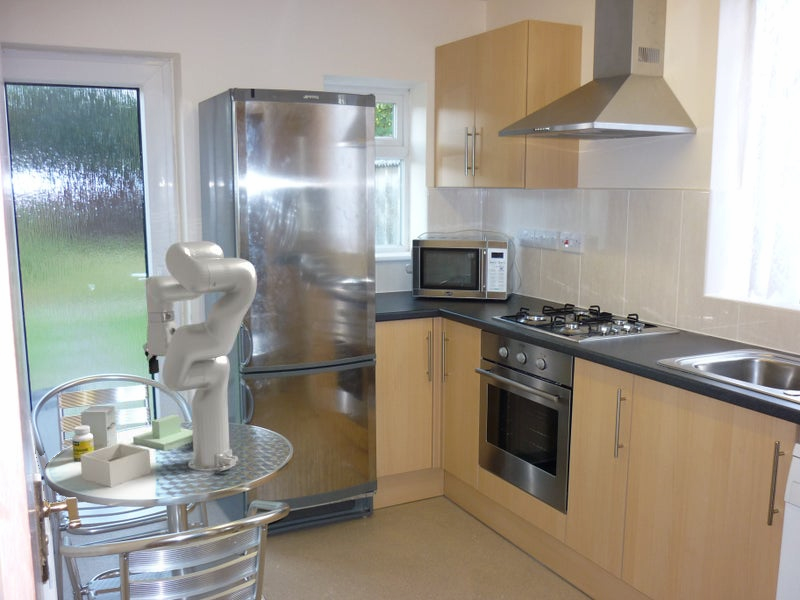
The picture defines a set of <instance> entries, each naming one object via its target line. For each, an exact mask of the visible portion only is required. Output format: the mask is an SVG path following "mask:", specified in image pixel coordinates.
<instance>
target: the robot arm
mask: <svg viewBox="0 0 800 600" xmlns="http://www.w3.org/2000/svg"><path fill="white" fill-rule="evenodd" d="M164 261H165V266H166V268H167V270H168V273H169V274H170V275H153V276H151V275H150V276H148V277H147V278H146V279H145V295H146V308H147V309H146V310H147V328H146V330H147V331H146V343H144V344H143V345H142V349H143V351H144V355H145V357H146V361H147V362H148V373H149V374H150V375H154V374H158V373H159V372H160V367H159V366H160V364H159V362H160V361H159V359H158V357H165V358H164V361H163V365H162V372H161V373H162V374H161V375H162V381H163V385H164V386H165V388H166V389H168V390H169V391H171V392H184V391H189V390H196V391H195V392H194V394H193V397H192V399H191V428H192V429H191V430H193V442H192V446H193V447H192V448H193V458H192V459H190V461H188V465H187V466H188V468H189V469H191V470H194V471H199V472H200V471H203V472H212V471H215V473H219V472H223V471H227V470H229V469H232V468H234V466H235V465H236V464H237V462H238V461H239V457H238V456H237V455H233V449H232V448H231V447H230V430H229V428H230V427H229V406H228V405H229V404H228V403H229V402H228V401H229V400H228V390H229V389H228V388H229V387H228V386H229V379H230V373H231V372H230V371H231V364H230V360H229V357H228V356H227V355H228V354H230V352H231V351H232V350H233V347H234V344H235V342H236V340H237V337H238V333H239V331H240V328H241V325H242V323H243V320H244V318H245V316H246V314H247V312H248V311H249V309H250V307H252V306H251V305H252V304H253V301H254V299H255V296H256V293H257V286H258V275H257V271H256V268H255V266H254V265H253V264H252V263H251V262H250V261H249V260H247V259H244V258H240V257H225V256H224V251H223V249H222V248H221V246H220V245H219V244H217V243H216V242H213V241H209V240H208V241H207V240H201V241H200V240H199V241H180V242H175V243H172V244H171V245H170V246H169V247H168V249H167V250H166V253H165V260H164ZM216 293H217V294H218V293H224V294H222V295H221V296H220V297H219V298H218V299H217V300H216V301H215V302H214V303H213V305H212V306H211V307H210V309H209V311H208V315H207V317H206V320H205V321H202V322H199V323H192V324H191V323H190V324H185V325H180V326H179V327H178V323H177V321H175V320H176V319H175V318H176V317H175V306H174V305H175V304H174V302H184V301H185V302H186V301H192V300H195V299H196V300H197V299H198V298H200V297H201V296H203V295H205V294H216ZM159 374H160V373H159Z"/></svg>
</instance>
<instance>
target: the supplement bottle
mask: <svg viewBox="0 0 800 600" xmlns="http://www.w3.org/2000/svg"><path fill="white" fill-rule="evenodd" d="M73 430H74V435H73V436H72V437H71V440H72V455H73V462H78V463H79V462H80V463H81V456H80V455H82V454H85V453H89V452H92V451H94V442H93V435H92V434H91V433H89V432H90V426H88V425H82V424H81V425H77V426H74V428H73Z"/></svg>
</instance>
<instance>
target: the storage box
mask: <svg viewBox="0 0 800 600" xmlns="http://www.w3.org/2000/svg"><path fill="white" fill-rule="evenodd" d="M150 455H151V454H150V449H146V448H143V447H140V446H135V445H132V444H127V443H123V442H117V444H115V445H111V446H108V447H105V448H102V449H98V450H95V451H92V452H89V453H85V454H82V455H80V456H81V462H80V467H81V468H80V469H81V479H82V480H85V481H89V482H93V483H95V484H98V485H102V486H105V487H109V488H113V487H115V486H119V485H121V484H123V483H124V484H125V483H126V482H129V481H132V480H135V479H138V478H140V477H143V476H144V477H145V475H149V474H151V458H150V457H151V456H150ZM117 457H119V458H120V459H117V460H114V461H111V462H110V461H107V460H110V459H114V458H117Z"/></svg>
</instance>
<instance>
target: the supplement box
mask: <svg viewBox="0 0 800 600" xmlns="http://www.w3.org/2000/svg"><path fill="white" fill-rule="evenodd" d="M80 420H81V421H80V422H81V425H88V426H90V432H89V433H91V434H92V435H93V442H94V451H95V450H98V449H102V448H105V447H108V446H111V445H115V444H118V440H117V439H118V438H117V436H118V435H117V421H116V420H117V419H116V406H115V405H94V406H93V405H92V406H91V405H90V406H89V407H88V408H86V409H85V410H83V411H81V412H80Z"/></svg>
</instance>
